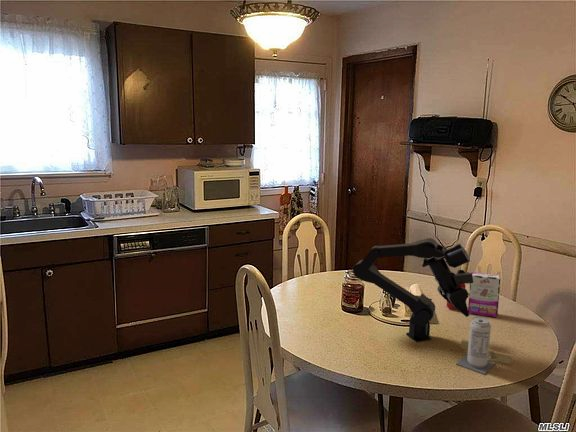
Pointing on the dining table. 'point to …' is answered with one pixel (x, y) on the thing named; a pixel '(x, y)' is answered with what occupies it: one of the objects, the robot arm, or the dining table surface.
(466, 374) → the dining table surface
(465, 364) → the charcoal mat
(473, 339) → the energy drink can
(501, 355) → the zigzag wooden bar
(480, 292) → the candy bar box
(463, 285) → the beverage can
